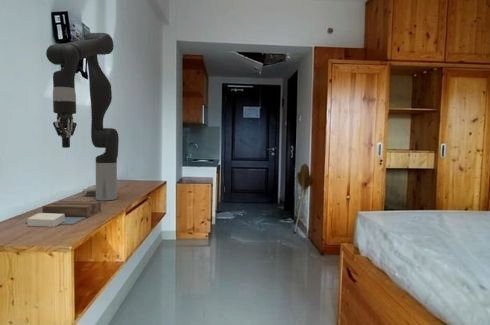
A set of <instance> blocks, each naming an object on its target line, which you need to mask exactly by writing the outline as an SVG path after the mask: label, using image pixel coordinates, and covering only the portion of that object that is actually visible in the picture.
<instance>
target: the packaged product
mask: <svg viewBox="0 0 490 325" xmlns="http://www.w3.org/2000/svg"><path fill="white" fill-rule="evenodd" d="M81 192H82V193H83V192H86V194H85V195H86V197H96V184H94V185H91V186H88V187H86V188H84V189H82V191H81Z"/></svg>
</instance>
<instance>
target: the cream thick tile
mask: <svg viewBox="0 0 490 325" xmlns="http://www.w3.org/2000/svg"><path fill="white" fill-rule="evenodd" d="M26 220H27V221H26V222H27V223H28V224H27V226H28V227H50V228H55V227H57V226H59V224H60V223H62V222H64V221H65V214H55V213H43V212H38V213H36V214H34V215H32V216H30V217H28V218H27V219H26Z"/></svg>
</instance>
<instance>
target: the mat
mask: <svg viewBox="0 0 490 325" xmlns="http://www.w3.org/2000/svg"><path fill="white" fill-rule="evenodd" d="M86 219H87V218H85V217H65V221H64V222H62V223H60V224H59V225H63V226H64V225H65V226H66V225H67V226H73V225H76V224H77V223H80V222H81V221H84V220H86ZM24 224H25V225H28V223H27V221H25V222H24ZM59 225H58V226H59Z"/></svg>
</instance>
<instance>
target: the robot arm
mask: <svg viewBox="0 0 490 325" xmlns="http://www.w3.org/2000/svg"><path fill="white" fill-rule="evenodd" d="M84 36H85V37H84V39H78V40H75V41H74V40H73V41H70V42H66V43H55V44H51V45H50V46H48V47H47V49H46V53H45V56H46V58H47V60H48V61H49V62H50V63H52V64H53V65H55V66H56V65H58V66H63V68H62V69H59V70H56V71H54V72H53V74H52V81H53V82H52V84H53V88H52V108H53V110H52V111H53V113H54V114H56V121H53V122H52V125H53V128H54V129H55V132H56V134H57V136H59V137H60V138H61V147H62V148H63V149H64V148H65V149H66V148H69V149H70V147H71V137H72V136H74V134H75V131H76V129H77V128H76V127H77V126H78V124H77V122H74V117H73V115H75V114H77V98H76V97H77V95H76V84H75V81H76V80H75V76H76V73H77V69H78V65H79V61H81V60H85V59H86V63H87V70H88V81H89V84H88V85H89V98H90V112H91V119H90V120H91V124H90V127H91V128H90V129H91V130H90V134H91V135H90V137H91V143H92V145H93V146H94V147H95V148H97V149H98V148H99V149H103V148H104V149H105V150H104V152H103V153H102V154H99V155H97V156H96V157H95V185H96V196H95V200H96V201H115V200H117V199H118V165H117V164H118V163H117V162H118V157H119V138H120V136H119V133H118V131H117V129H115V128H113V127H112V128H110V127H104V118H105V115H106V113H107V110H109V107H110V106H111V103H112V100H113V96H112V95H113V94H112V84H111V82H110V80H109V79H108V77H107V76H106V74H105V73H104V71H103V70H102V68H101V66H100V63H99V59H98V58H99V57H98V56H99V55H104V56H105V55H110V54H111V53H112V52H114V47H115V46H114V39H113V37H112V35H110V34H109V33H106V32H88V33H86V34H85V35H84Z"/></svg>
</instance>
